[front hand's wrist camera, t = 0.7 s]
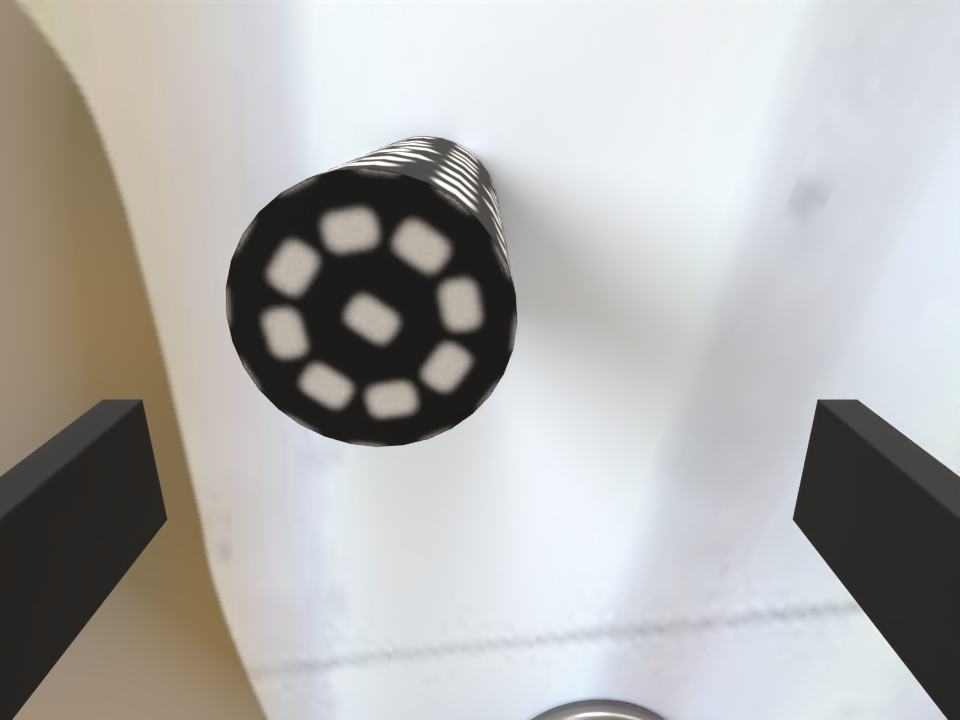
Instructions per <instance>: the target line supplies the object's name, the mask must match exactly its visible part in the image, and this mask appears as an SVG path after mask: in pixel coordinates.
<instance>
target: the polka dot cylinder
mask: <svg viewBox="0 0 960 720" xmlns="http://www.w3.org/2000/svg"><path fill="white" fill-rule="evenodd" d="M226 315H227V320H228V324H229V329H230V333H231V338H232V342H233V344H234V346H235V349H236V351H237V353H238V355H239V358H240V360H241V362H242V365H243V367H244V368H245V370H246V371H247V373H248V374H249V376H250V377H251V379H252V380H253V381H254V383H255V384H256V386H257V387H258V389H259V390H260V391H261V392H262V393H263V394H264V395H265V396H266V397H267V398H268V399H269V400H270V401H271V402H272V403H273V404H274V405H275V406H276V407H277V408H278V409H279V410H280V411H282V412H283V413H285V414H286V415H287V416H289V417H290V418H292V419H293V420H294V421H296V422H297V423H299V424H300V425H302V426H304V427H306V428H308V429H310V430H312V431H314V432H316V433H319V434H321V435H323V436H325V437H328V438H332V439H335V440H339V441H342V442H346V443H349V444H356V445H365V446H374V447H382V446H398V445H406V444H410V443H414V442H418V441H422V440H426V439H429V438H432V437H434V436H436V435H438V434H441V433H443V432H445V431H447V430H449V429H452V428H453V427H454V426H456V425H457V424H459V423H460V422H462V421H463V420H465V419H466V418H467V417H469V416H470V415H472V414H473V413H474V412H475V411H476V410H477V409H478V408H479V407H480V406H481V405H482V403H483V402H484V401H485V400H486V399H487V398H488V397H489V396H490V395H491V393H492V392H493V390H494V389H495V387H496V386H497V384H498V382H499V381H500V379H501V378H502V376H503V375H504V372H505V370H506V367H507V364H508V362H509V359H510V356H511V354H512V351H513V347H514V341H515V334H516V328H517V309H516V294H515V289H514V283H513V278H512V273H511V267H510V262H509V256H508V251H507V246H506V240H505V235H504V230H503V224H502V219H501V214H500V208H499V203H498V198H497V194H496V190H495V186H494V184H493V182H492V180H491V178H490V176H489V174H488V172H487V171H486V169H485V168H484V166H483V165H482V164H481V162H480V161H479V160H478V159H477V158H476V157H475V156H474V155H472V154H471V153H470V152H469V151H468V150H466V149H465V148H463V147H461V146H460V145H458V144H456V143H454V142H451V141H448V140H446V139H443V138H437V137H430V136H421V137H411V138H407V139H404V140H401V141H397V142H395V143H393V144H390V145H388V146H385V147H383V148H380V149H378V150H376V151H373V152H371V153H368V154H366V155H363V156H361V157H359V158H356V159H354V160H351V161H349V162H346V163H344V164H342V165H339V166H337V167H334V168H332V169H329V170H327V171H325V172H322V173H320V174H317V175H315V176H312V177H310V178H308V179H306V180H304V181H302V182H300V183H298V184H296V185H295V186H293V187H291V188H289V189H287V190H285V191H283V192H282V193H280V194H279V195H278V196H277V197H276V198H274V199H273V200H272V201H271V202H270V203H269V204H268V205H266V206H265V207H264V208H263V209H262V210H261V211H260V212H259V213H258V214H257V215H256V217H255V218H254V219H253V221H252V222H251V224H250V225H249V226H248V228H247V229H246V230H245V232H244V233H243V235H242V237H241V239H240V241H239V244H238V246H237V248H236V250H235V253H234V255H233V257H232V260H231V264H230V269H229V274H228V279H227V284H226Z"/></svg>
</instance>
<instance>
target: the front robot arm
mask: <svg viewBox="0 0 960 720" xmlns="http://www.w3.org/2000/svg"><path fill="white" fill-rule="evenodd" d="M166 520H167V516H166V511H165V506H164V501H163V497H162V492H161V487H160V482H159V477H158V473H157V468H156V463H155V458H154V454H153V449H152V444H151V439H150V434H149V430H148V425H147V420H146V415H145V411H144V406H143V401H142V400H102V401H100V402H99V403H98V404H96V405H95V406H94V407H92V408H91V409H90V410H88V411H87V412H86V413H84V414H83V415H82V416H80V417H79V418H78V419H76V420H75V421H74V422H72V423H71V424H70V425H69V426H67V427H66V428H65V429H63V430H62V431H61V432H59V433H58V434H57V435H55V436H54V437H53V438H51V439H50V440H49V441H47V442H46V443H45V444H43V445H42V446H41V447H39V448H38V449H37V450H35V451H34V452H33V453H31V454H30V455H29V456H27V457H26V458H25V459H23V460H22V461H21V462H19V463H18V464H17V465H15V466H14V467H13V468H11V469H10V470H9V471H7V472H6V473H5V474H4V475H2V476H1V477H0V720H12V719H13V718H14V717H15V715H16V714H17V713H18V711H19V710H20V709H21V708H22V706H23V705H24V704H25V702H26V701H27V700H28V699H29V697H30V696H31V695H32V693H33V692H34V691H35V690H36V688H37V687H38V686H39V684H40V683H41V682H42V680H43V679H44V678H45V677H46V675H47V674H48V673H49V671H50V670H51V669H52V668H53V666H54V665H55V664H56V662H57V661H58V660H59V659H60V657H61V656H62V655H63V653H64V652H65V651H66V649H67V648H68V647H69V646H70V644H71V643H72V642H73V640H74V639H75V638H76V637H77V635H78V634H79V633H80V631H81V630H82V629H83V628H84V626H85V625H86V624H87V622H88V621H89V620H90V618H91V617H92V616H93V615H94V613H95V612H96V611H97V609H98V608H99V607H100V606H101V604H102V603H103V602H104V600H105V599H106V598H107V596H108V595H109V594H110V593H111V591H112V590H113V589H114V587H115V586H116V585H117V584H118V582H119V581H120V580H121V578H122V577H123V576H124V575H125V573H126V572H127V571H128V569H129V568H130V567H131V566H132V564H133V563H134V562H135V560H136V559H137V558H138V556H139V555H140V554H141V553H142V551H143V550H144V549H145V547H146V546H147V545H148V544H149V542H150V541H151V540H152V538H153V537H154V536H155V534H156V533H157V532H158V531H159V529H160V528H161V527H162V525H163V524H164V523H165V522H166ZM793 520H794V522H795V523H796V524H797V525H798V527H799V528H800V529H801V531H802V532H803V533H804V535H805V536H806V537H807V538H808V540H809V541H810V542H811V544H812V545H813V546H814V547H815V549H816V550H817V551H818V553H819V554H820V555H821V556H822V558H823V559H824V560H825V562H826V563H827V564H828V566H829V567H830V568H831V569H832V571H833V572H834V573H835V575H836V576H837V577H838V578H839V580H840V581H841V582H842V584H843V585H844V586H845V587H846V589H847V590H848V591H849V593H850V594H851V595H852V597H853V598H854V599H855V600H856V602H857V603H858V604H859V606H860V607H861V608H862V609H863V611H864V612H865V613H866V615H867V616H868V617H869V618H870V620H871V621H872V622H873V624H874V625H875V626H876V628H877V629H878V630H879V631H880V633H881V634H882V635H883V637H884V638H885V639H886V640H887V642H888V643H889V644H890V646H891V647H892V648H893V649H894V651H895V652H896V653H897V655H898V656H899V657H900V659H901V660H902V661H903V662H904V664H905V665H906V666H907V668H908V669H909V670H910V671H911V673H912V674H913V675H914V677H915V678H916V679H917V681H918V682H919V683H920V684H921V686H922V687H923V688H924V690H925V691H926V692H927V693H928V695H929V696H930V697H931V699H932V700H933V701H934V702H935V704H936V705H937V706H938V708H939V709H940V710H941V712H942V713H943V714H944V715H945V717H946V718H947V719H948V720H960V477H959V476H958V475H956V474H955V473H954V472H953V471H951V470H950V469H949V468H947V467H946V466H945V465H943V464H942V463H941V462H939V461H938V460H937V459H935V458H934V457H933V456H931V455H930V454H929V453H927V452H926V451H925V450H923V449H922V448H921V447H919V446H918V445H917V444H915V443H914V442H913V441H911V440H910V439H909V438H907V437H906V436H905V435H903V434H902V433H901V432H899V431H898V430H897V429H895V428H894V427H893V426H891V425H890V424H889V423H888V422H886V421H885V420H884V419H882V418H881V417H880V416H878V415H877V414H876V413H874V412H873V411H872V410H870V409H869V408H868V407H866V406H865V405H864V404H862V403H861V402H860V401H858V400H818V401H817V406H816V410H815V415H814V420H813V425H812V430H811V434H810V439H809V444H808V449H807V454H806V458H805V463H804V468H803V473H802V477H801V482H800V487H799V492H798V497H797V501H796V506H795V511H794V516H793ZM532 720H662V719H661V718H660V717H658V716H657V715H655V714H653V713H652V712H650V711H647V710H645V709H643V708H640V707H638V706H635V705H631V704H628V703H623V702H617V701H608V700H590V701H580V702H574V703H570V704H566V705H562V706H559V707H556V708H553V709H551V710H548V711H546V712H544V713H542V714H540V715H538V716H537V717H535V718H533V719H532Z"/></svg>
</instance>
